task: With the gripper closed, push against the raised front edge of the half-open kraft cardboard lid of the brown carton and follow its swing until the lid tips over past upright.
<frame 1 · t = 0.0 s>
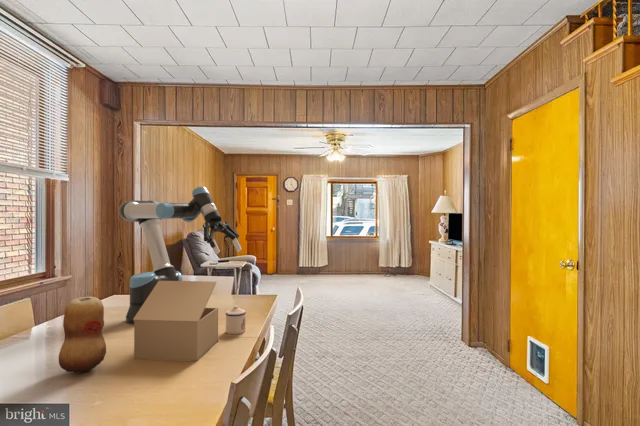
hand: (229, 251, 179), 36 cm above the table, tool tilted 35°, fingers open, 13 cm apart
carton: (178, 349, 152), on the table
teacup with lid: (235, 331, 177), on the table
butternut squash: (83, 371, 131), on the table
carton lid: (177, 300, 150), point 20 cm above the table, hinge at 30.0°
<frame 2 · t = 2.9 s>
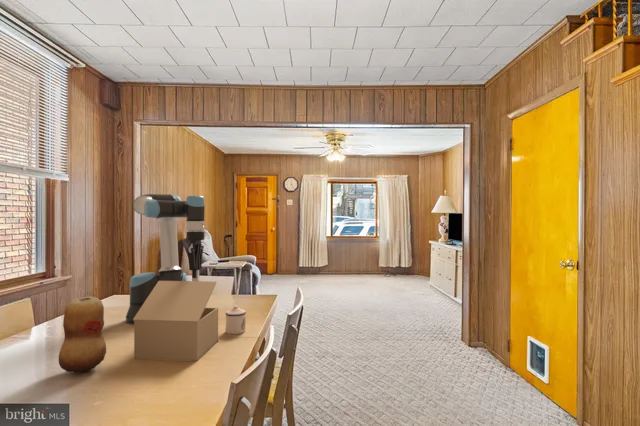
hand: (195, 285, 168), 23 cm above the table, tool pointing down, fingers closed
nothing on the table moved.
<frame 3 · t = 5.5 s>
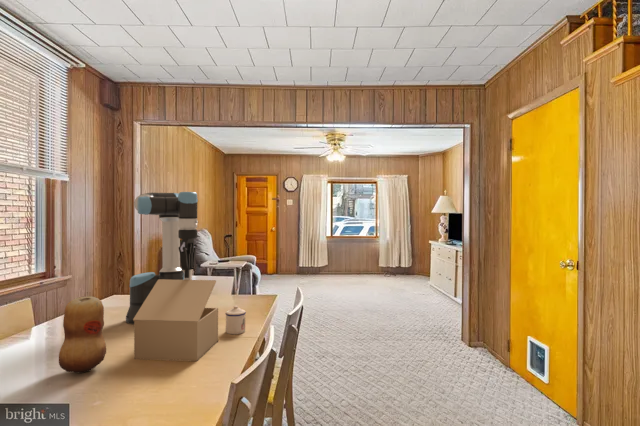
hand: (188, 285, 160), 24 cm above the table, tool pointing down, fingers closed
carton lid: (176, 299, 150), point 20 cm above the table, hinge at 32.0°, touching carton, gripper
everything else where it was.
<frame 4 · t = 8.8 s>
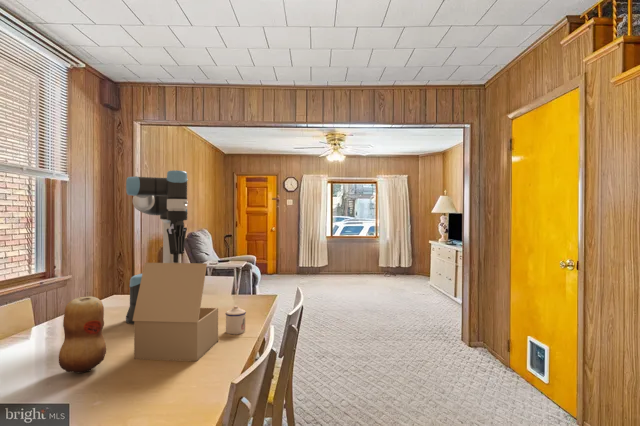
hand: (177, 270, 150), 31 cm above the table, tool pointing down, fingers closed
carton lid: (170, 291, 145), point 24 cm above the table, hinge at 67.4°, touching gripper
everything else where it was.
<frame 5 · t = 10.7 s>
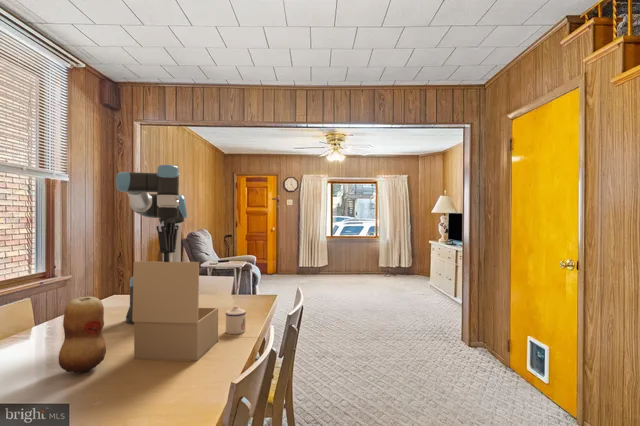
hand: (167, 270, 143), 33 cm above the table, tool pointing down, fingers closed
carton lid: (165, 291, 141), point 25 cm above the table, hinge at 87.9°, touching gripper
everything else where it was.
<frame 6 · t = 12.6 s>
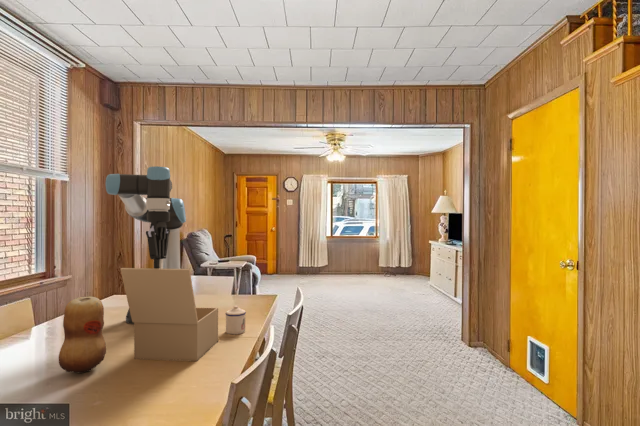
hand: (158, 277, 136), 31 cm above the table, tool pointing down, fingers closed
carton lid: (160, 296, 137), point 24 cm above the table, hinge at 109.9°, touching carton, gripper
everything else where it was.
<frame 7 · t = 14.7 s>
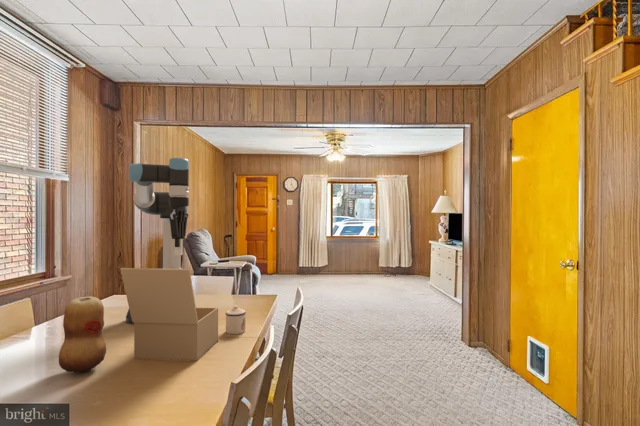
hand: (178, 254, 155), 37 cm above the table, tool pointing down, fingers closed
carton lid: (160, 296, 137), point 24 cm above the table, hinge at 110.0°
everything else where it was.
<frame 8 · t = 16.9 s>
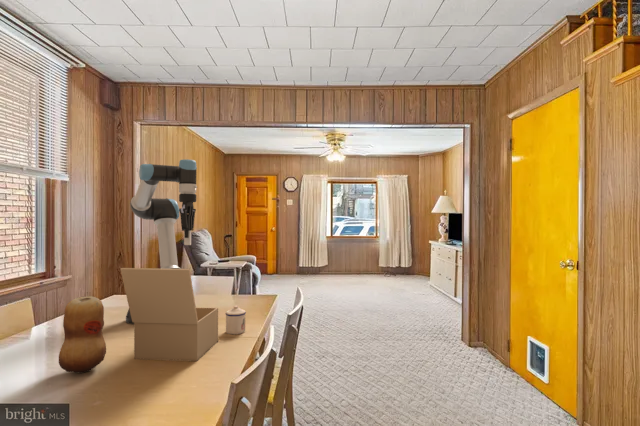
hand: (187, 244, 177), 39 cm above the table, tool pointing down, fingers closed
nothing on the table moved.
at the end: carton lid at +110° (first picture: +30°); teacup with lid moved 0.2 cm from its start; butternut squash moved 0.2 cm from its start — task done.
